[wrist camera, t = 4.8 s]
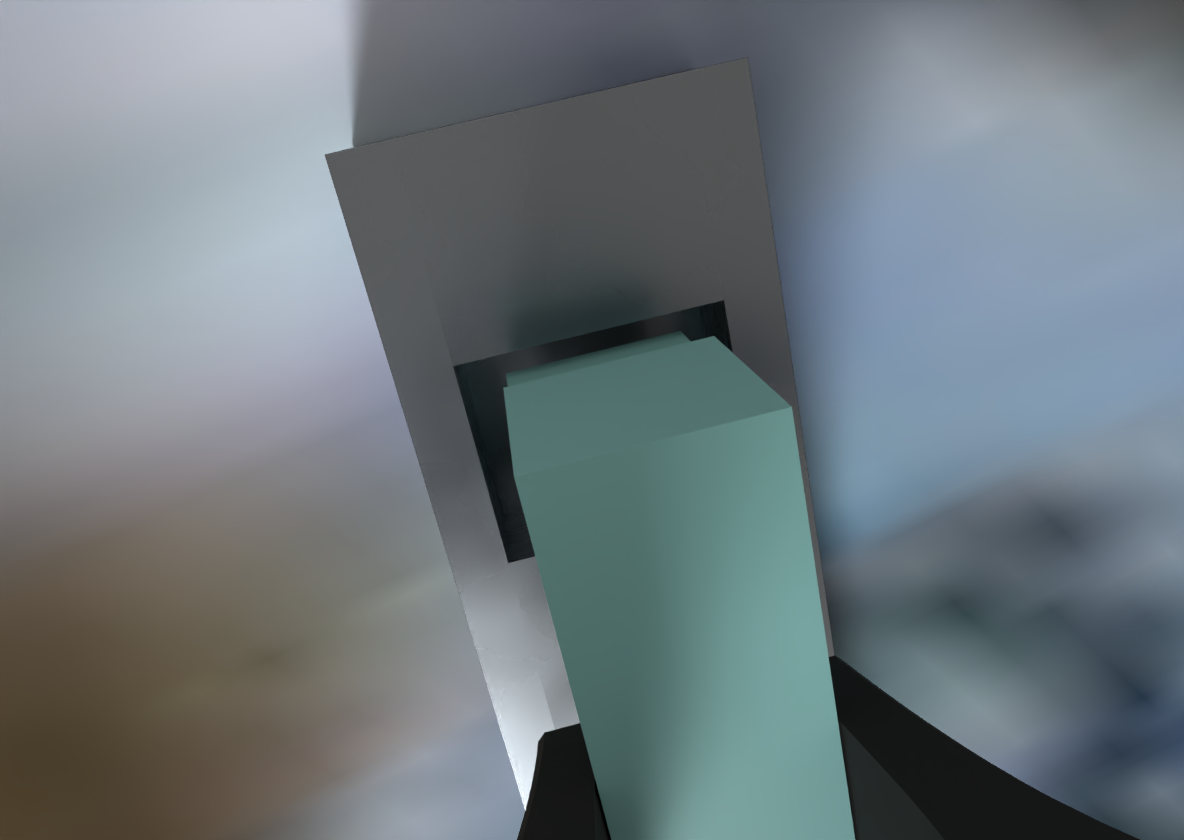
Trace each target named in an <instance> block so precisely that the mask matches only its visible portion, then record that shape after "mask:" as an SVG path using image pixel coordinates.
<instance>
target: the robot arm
mask: <svg viewBox="0 0 1184 840" xmlns="http://www.w3.org/2000/svg"><path fill="white" fill-rule="evenodd" d="M829 664H830V671H831V677H832V684H833V691H834V698H835V705H836V712H837V718H838V725H839V732H840V739H841V746H842V753H843V759H844V766H845V773H846V780H847V787H848V794H849V800H850V807H851V814H852V821H853V828H854V834H855V840H1139V839H1137V838H1135V837H1132V836H1130V835H1128V834H1126V833H1124V832H1121V831H1119V830H1117V829H1115V828H1112V827H1110V826H1108V825H1106V824H1104V823H1102V822H1100V821H1098V820H1095V819H1093V818H1091V817H1089V816H1087V815H1085V814H1083V813H1081V812H1079V811H1077V810H1075V809H1073V808H1071V807H1069V806H1067V805H1065V804H1063V803H1061V802H1059V801H1057V800H1055V799H1053V798H1051V797H1049V796H1047V795H1045V794H1044V793H1042V792H1040V791H1038V790H1036V789H1034V788H1033V787H1031V786H1029V785H1027V784H1025V783H1024V782H1022V781H1020V780H1018V779H1017V778H1015V777H1013V776H1012V775H1010V774H1008V773H1007V772H1005V771H1003V770H1001V769H1000V768H998V767H996V766H995V765H993V764H991V763H990V762H988V761H986V760H985V759H983V758H981V757H980V756H978V755H977V754H975V753H974V752H972V751H970V750H969V749H967V748H966V747H964V746H962V745H961V744H959V743H958V742H956V741H955V740H953V739H952V738H950V737H949V736H947V735H946V734H944V733H943V732H941V731H940V730H938V729H937V728H935V727H934V726H932V725H931V724H929V723H928V722H926V721H925V720H923V719H922V718H920V717H919V716H918V715H916V714H915V713H913V712H912V711H910V710H909V709H908V708H906V707H905V706H903V705H902V704H901V703H899V702H898V701H896V700H895V699H894V698H892V697H891V696H889V695H888V694H887V693H885V692H884V691H883V690H881V689H880V688H879V687H877V686H876V685H874V684H873V683H872V682H870V681H869V680H868V679H866V678H865V677H864V676H862V675H861V674H860V673H858V672H857V671H856V670H855V669H853V668H852V667H851V666H849V665H848V664H847V663H845V662H844V661H842V660H841V659H839V658H838V657H836V656H831V657H829ZM517 840H611V836H610V833H609V829H608V825H607V821H606V818H605V814H604V810H603V807H602V803H601V799H600V795H599V792H598V788H597V784H596V780H595V777H594V773H593V769H592V766H591V762H590V758H589V754H588V751H587V747H586V743H585V739H584V736H583V732H582V728H581V725H580V723H578V724H574V725H571V726H567V727H563V728H559V729H556V730H552V731H548V732H544V734H543V735H542V737H541V738H540V740H539V741H538V748H537V757H536V763H535V769H534V775H533V780H532V785H531V789H530V793H529V798H528V802H527V806H526V810H525V814H524V818H523V821H522V825H521V828H520V832H519V835H518V839H517Z"/></svg>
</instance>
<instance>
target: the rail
mask: <svg viewBox="0 0 1184 840" xmlns="http://www.w3.org/2000/svg"><path fill="white" fill-rule="evenodd" d="M325 157H326V160H327V164H328V167H329V170H330V173H331V177H332V180H333V183H334V187H335V190H336V193H337V196H338V200H339V203H340V206H341V209H342V213H343V216H344V219H345V222H346V226H347V229H348V232H349V236H350V239H351V242H352V245H353V249H354V252H355V255H356V258H357V262H358V265H359V268H360V272H361V275H362V278H363V281H364V285H365V288H366V291H367V294H368V298H369V301H370V304H371V307H372V311H373V314H374V317H375V321H376V324H377V327H378V330H379V334H380V337H381V340H382V343H383V347H384V350H385V353H386V357H387V360H388V363H389V366H390V370H391V373H392V376H393V379H394V383H395V386H396V389H397V393H398V396H399V399H400V402H401V406H402V409H403V412H404V415H405V419H406V422H407V425H408V428H409V432H410V435H411V438H412V442H413V445H414V448H415V451H416V455H417V458H418V461H419V464H420V468H421V471H422V474H423V478H424V481H425V484H426V487H427V491H428V494H429V497H430V500H431V504H432V507H433V510H434V514H435V517H436V520H437V523H438V527H439V530H440V533H441V536H442V540H443V543H444V546H445V549H446V553H447V556H448V559H449V563H450V566H451V569H452V572H453V576H454V579H455V582H456V585H457V589H458V592H459V595H460V599H461V602H462V605H463V608H464V612H465V615H466V618H467V621H468V625H469V628H470V631H471V634H472V638H473V641H474V644H475V648H476V651H477V654H478V657H479V661H480V664H481V667H482V670H483V674H484V677H485V680H486V684H487V687H488V690H489V693H490V697H491V700H492V703H493V706H494V710H495V713H496V716H497V720H498V723H499V726H500V729H501V733H502V736H503V739H504V742H505V746H506V749H507V752H508V755H509V759H510V762H511V765H512V769H513V772H514V775H515V778H516V782H517V785H518V788H519V791H520V795H521V798H522V801H523V805H524V808H525V810H526V806H527V802H528V798H529V793H530V789H531V785H532V780H533V775H534V769H535V763H536V757H537V748H538V741H539V740H540V738H541V737H542V735H543V734H544V732H548V731H552V730H556V729H559V728H563V727H567V726H571V725H574V724H578V723H580V721H579V717H578V713H577V710H576V706H575V702H574V698H573V695H572V691H571V687H570V684H569V680H568V676H567V672H566V669H565V665H564V661H563V657H562V654H561V650H560V646H559V643H558V639H557V635H556V631H555V628H554V624H553V620H552V617H551V613H550V609H549V605H548V602H547V598H546V594H545V590H544V587H543V583H542V579H541V576H540V572H539V568H538V564H537V561H536V557H535V553H534V549H533V546H532V542H531V538H530V535H529V531H528V527H527V523H526V520H525V516H524V512H523V508H522V505H521V501H520V497H519V494H518V490H517V486H516V482H515V479H514V473H513V464H512V456H511V448H510V439H509V431H508V422H507V414H506V406H505V397H504V389H503V388H504V387H508V385H507V377H506V373H510V372H514V371H518V370H522V369H526V368H530V367H534V366H538V365H542V364H546V363H551V362H555V361H559V360H563V359H567V358H571V357H575V356H579V355H583V354H587V353H591V352H595V351H600V350H604V349H608V348H612V347H616V346H620V345H624V344H628V343H632V342H636V341H640V340H644V339H649V338H653V337H657V336H661V335H665V334H669V333H673V332H677V331H681V332H682V333H683V334H684V335H685V336H686V337H687V338H688V339H689V340H690V341H691V342H692V341H696V340H700V339H704V338H708V337H712V336H715V337H716V338H717V339H718V340H719V341H720V342H721V343H722V344H723V345H725V346H726V347H727V348H728V349H729V350H730V351H731V352H732V353H733V354H734V355H736V356H737V357H738V358H739V359H740V360H741V361H742V362H743V363H744V364H745V365H746V366H748V367H749V368H750V369H751V370H752V371H753V372H754V373H755V374H756V375H757V376H759V377H760V378H761V379H762V380H763V381H764V382H765V383H766V384H767V385H768V386H770V387H771V388H772V389H773V390H774V391H775V392H776V393H777V394H778V395H779V396H780V397H782V398H783V399H784V400H785V401H786V402H787V403H788V404H789V405H790V406H791V407H792V411H793V418H794V425H795V432H796V438H797V445H798V452H799V459H800V466H801V473H802V479H803V486H804V493H805V500H806V507H807V513H808V520H809V527H810V534H811V541H812V548H813V554H814V561H815V568H816V575H817V582H818V589H819V595H820V602H821V609H822V616H823V623H824V630H825V636H826V643H827V650H828V657H831V656H834V649H833V642H832V635H831V628H830V621H829V614H828V608H827V601H826V594H825V587H824V580H823V573H822V566H821V559H820V552H819V545H818V538H817V532H816V525H815V518H814V511H813V504H812V497H811V490H810V483H809V476H808V469H807V462H806V456H805V449H804V442H803V435H802V428H801V421H800V414H799V407H798V400H797V393H796V387H795V380H794V373H793V366H792V359H791V352H790V345H789V338H788V331H787V324H786V317H785V311H784V304H783V297H782V290H781V283H780V276H779V269H778V262H777V255H776V248H775V241H774V235H773V228H772V221H771V214H770V207H769V200H768V193H767V186H766V179H765V172H764V166H763V159H762V152H761V145H760V138H759V131H758V124H757V117H756V110H755V103H754V96H753V90H752V83H751V76H750V69H749V62H748V57H747V58H743V59H738V60H734V61H729V62H725V63H720V64H715V65H711V66H706V67H702V68H697V69H693V70H689V71H684V72H680V73H676V74H671V75H667V76H662V77H658V78H654V79H649V80H645V81H641V82H636V83H632V84H628V85H623V86H619V87H615V88H610V89H606V90H602V91H597V92H593V93H589V94H584V95H580V96H576V97H571V98H567V99H562V100H558V101H554V102H549V103H545V104H541V105H536V106H532V107H528V108H523V109H519V110H515V111H510V112H506V113H502V114H497V115H493V116H489V117H484V118H480V119H476V120H471V121H467V122H462V123H458V124H454V125H449V126H445V127H441V128H436V129H432V130H428V131H423V132H419V133H415V134H410V135H406V136H402V137H397V138H393V139H389V140H384V141H380V142H375V143H371V144H367V145H362V146H358V147H354V148H350V149H346V150H342V151H338V152H334V153H330V154H326V155H325Z"/></svg>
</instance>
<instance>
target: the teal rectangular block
mask: <svg viewBox="0 0 1184 840" xmlns="http://www.w3.org/2000/svg"><path fill="white" fill-rule="evenodd" d="M506 377H507V385H508V387H504V388H503V389H504V397H505V406H506V414H507V422H508V431H509V439H510V448H511V456H512V464H513V473H514V479H515V482H516V486H517V490H518V494H519V497H520V501H521V505H522V508H523V512H524V516H525V520H526V523H527V527H528V531H529V535H530V538H531V542H532V546H533V549H534V553H535V557H536V561H537V564H538V568H539V572H540V576H541V579H542V583H543V587H544V590H545V594H546V598H547V602H548V605H549V609H550V613H551V617H552V620H553V624H554V628H555V631H556V635H557V639H558V643H559V646H560V650H561V654H562V657H563V661H564V665H565V669H566V672H567V676H568V680H569V684H570V687H571V691H572V695H573V698H574V702H575V706H576V710H577V713H578V717H579V721H580V725H581V728H582V732H583V736H584V739H585V743H586V747H587V751H588V754H589V758H590V762H591V766H592V769H593V773H594V777H595V780H596V784H597V788H598V792H599V795H600V799H601V803H602V807H603V810H604V814H605V818H606V821H607V825H608V829H609V833H610V836H611V840H855V834H854V828H853V821H852V814H851V807H850V800H849V794H848V787H847V780H846V773H845V766H844V759H843V753H842V746H841V739H840V732H839V725H838V718H837V712H836V705H835V698H834V691H833V684H832V677H831V671H830V664H829V657H828V650H827V643H826V636H825V630H824V623H823V616H822V609H821V602H820V595H819V589H818V582H817V575H816V568H815V561H814V554H813V548H812V541H811V534H810V527H809V520H808V513H807V507H806V500H805V493H804V486H803V479H802V473H801V466H800V459H799V452H798V445H797V438H796V432H795V425H794V418H793V411H792V407H791V406H790V405H789V404H788V403H787V402H786V401H785V400H784V399H783V398H782V397H780V396H779V395H778V394H777V393H776V392H775V391H774V390H773V389H772V388H771V387H770V386H768V385H767V384H766V383H765V382H764V381H763V380H762V379H761V378H760V377H759V376H757V375H756V374H755V373H754V372H753V371H752V370H751V369H750V368H749V367H748V366H746V365H745V364H744V363H743V362H742V361H741V360H740V359H739V358H738V357H737V356H736V355H734V354H733V353H732V352H731V351H730V350H729V349H728V348H727V347H726V346H725V345H723V344H722V343H721V342H720V341H719V340H718V339H717V338H716V337H715V336H712V337H708V338H704V339H700V340H696V341H692V342H691V341H690V340H689V339H688V338H687V337H686V336H685V335H684V334H683V333H682V332H681V331H677V332H673V333H669V334H665V335H661V336H657V337H653V338H649V339H644V340H640V341H636V342H632V343H628V344H624V345H620V346H616V347H612V348H608V349H604V350H600V351H595V352H591V353H587V354H583V355H579V356H575V357H571V358H567V359H563V360H559V361H555V362H551V363H546V364H542V365H538V366H534V367H530V368H526V369H522V370H518V371H514V372H510V373H506Z"/></svg>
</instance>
